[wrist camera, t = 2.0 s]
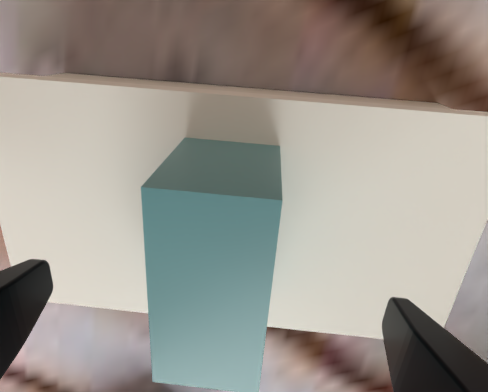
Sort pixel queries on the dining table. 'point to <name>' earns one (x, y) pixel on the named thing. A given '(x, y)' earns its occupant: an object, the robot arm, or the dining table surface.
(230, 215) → the lid
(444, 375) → the robot arm
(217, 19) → the dining table surface
